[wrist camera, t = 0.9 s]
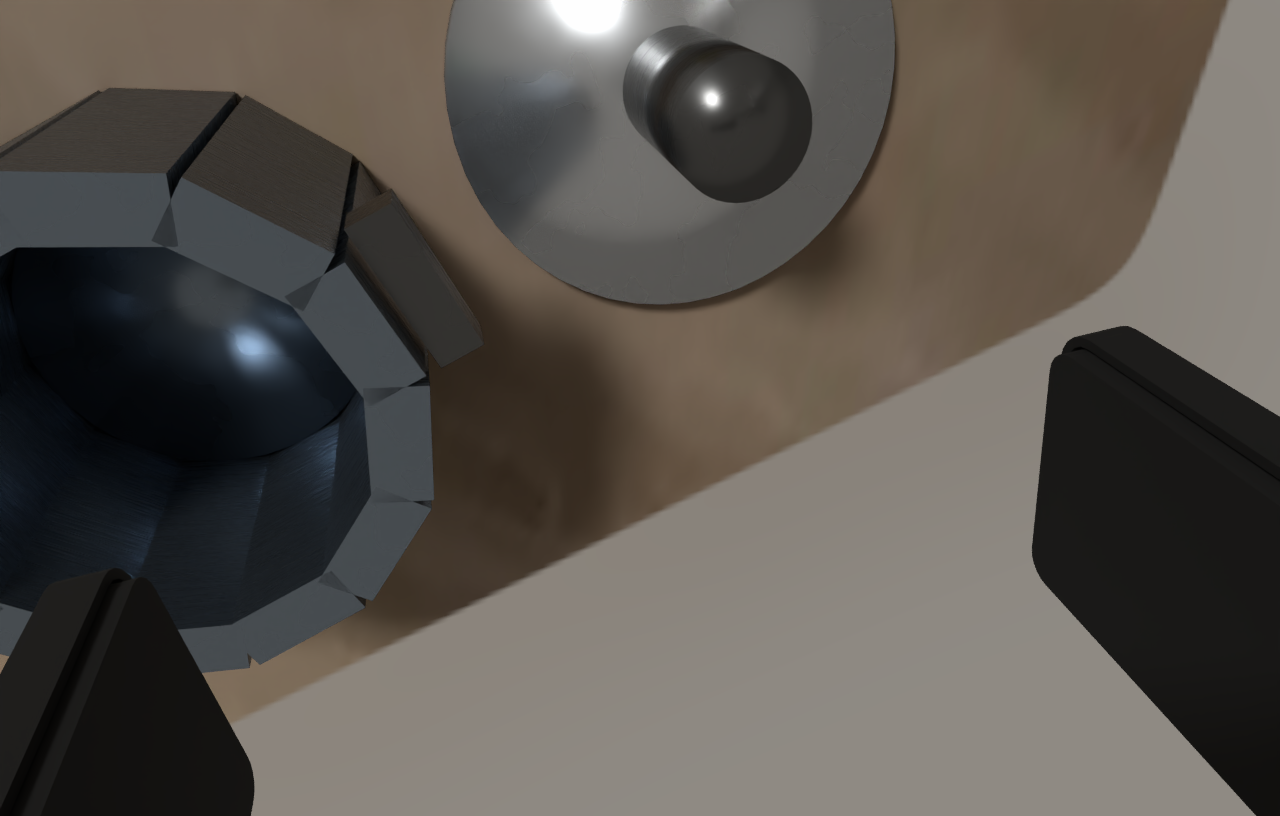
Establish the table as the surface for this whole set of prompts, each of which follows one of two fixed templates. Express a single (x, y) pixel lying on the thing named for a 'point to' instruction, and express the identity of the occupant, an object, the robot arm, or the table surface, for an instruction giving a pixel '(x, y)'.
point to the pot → (212, 368)
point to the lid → (666, 131)
